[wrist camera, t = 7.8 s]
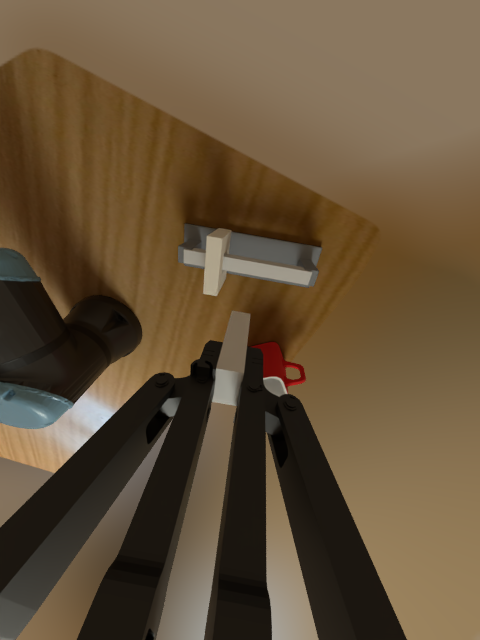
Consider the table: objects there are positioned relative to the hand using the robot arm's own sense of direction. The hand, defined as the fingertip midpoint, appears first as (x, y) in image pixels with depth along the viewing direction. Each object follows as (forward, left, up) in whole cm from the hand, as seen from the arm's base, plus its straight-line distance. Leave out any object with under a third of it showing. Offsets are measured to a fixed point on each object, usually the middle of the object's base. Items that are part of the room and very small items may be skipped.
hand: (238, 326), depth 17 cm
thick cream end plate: (-5, 0, -21) cm, 22 cm away
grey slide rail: (-1, 0, -23) cm, 23 cm away
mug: (+8, -21, -23) cm, 32 cm away
